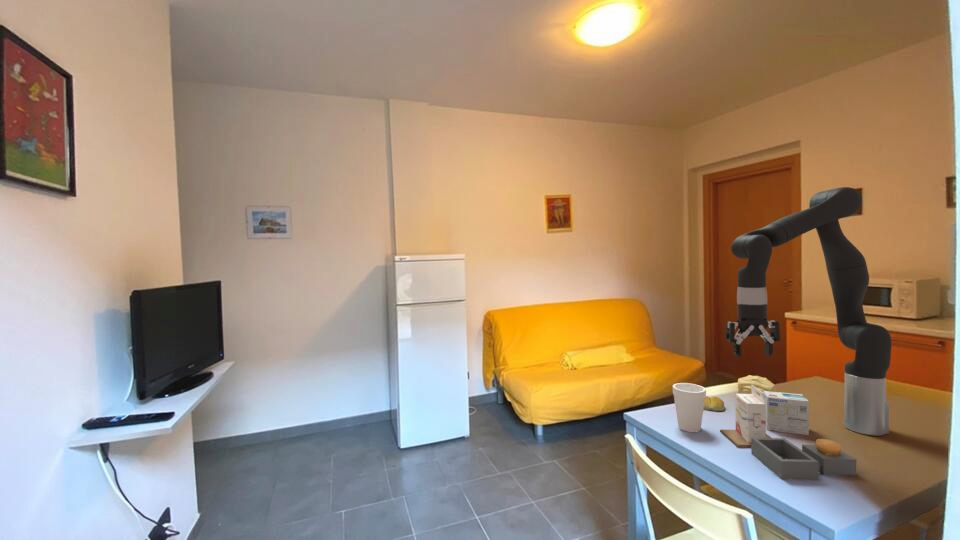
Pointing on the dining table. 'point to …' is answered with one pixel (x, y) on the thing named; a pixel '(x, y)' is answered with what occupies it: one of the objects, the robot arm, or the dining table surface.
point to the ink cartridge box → (751, 415)
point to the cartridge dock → (800, 460)
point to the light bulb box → (787, 412)
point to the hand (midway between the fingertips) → (752, 355)
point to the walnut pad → (737, 438)
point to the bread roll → (714, 404)
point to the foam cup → (689, 405)
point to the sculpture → (754, 384)
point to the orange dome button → (828, 447)
